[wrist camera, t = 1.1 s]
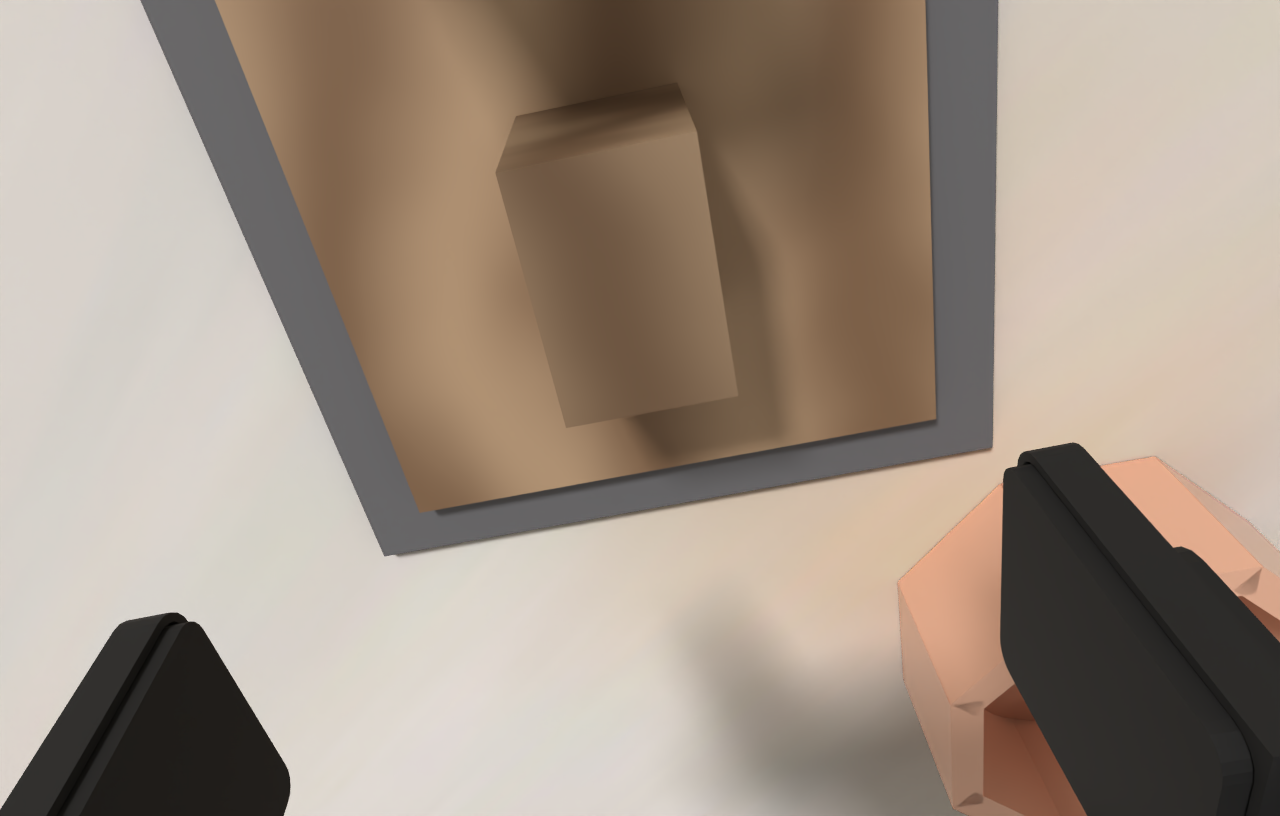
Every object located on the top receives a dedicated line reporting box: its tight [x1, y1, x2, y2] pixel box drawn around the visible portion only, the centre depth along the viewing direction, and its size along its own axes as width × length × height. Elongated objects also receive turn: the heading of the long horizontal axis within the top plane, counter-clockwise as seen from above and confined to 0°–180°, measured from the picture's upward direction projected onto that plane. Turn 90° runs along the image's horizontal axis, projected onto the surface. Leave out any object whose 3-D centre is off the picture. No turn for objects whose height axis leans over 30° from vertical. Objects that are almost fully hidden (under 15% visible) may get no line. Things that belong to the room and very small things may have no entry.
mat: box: [141, 0, 998, 556], centre depth 24 cm, size 20×20×1 cm
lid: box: [215, 0, 936, 513], centre depth 21 cm, size 16×16×6 cm
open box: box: [898, 457, 1280, 816], centre depth 30 cm, size 12×12×6 cm
